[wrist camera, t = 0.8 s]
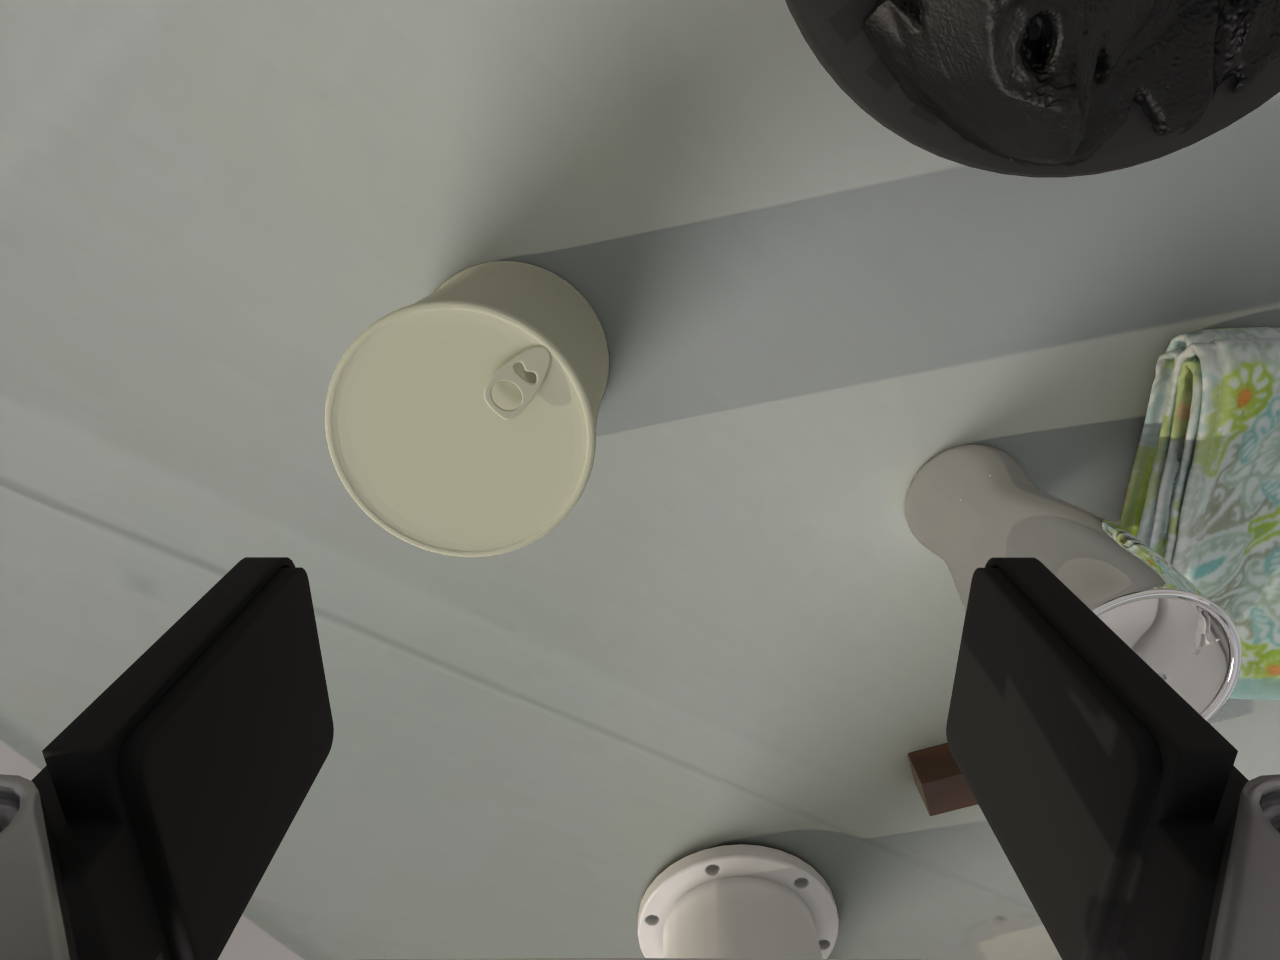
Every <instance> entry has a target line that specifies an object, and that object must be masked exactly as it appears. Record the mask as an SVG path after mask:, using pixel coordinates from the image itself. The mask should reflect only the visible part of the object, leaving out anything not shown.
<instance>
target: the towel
mask: <svg viewBox="0 0 1280 960" xmlns="http://www.w3.org/2000/svg"><path fill="white" fill-rule="evenodd" d="M1155 368H1156V375H1155V379H1154V382H1153V384H1152V388H1151V394H1150V400H1149V404H1148V408H1147V412H1146V418H1145V422H1144V426H1143V430H1142V434H1141V438H1140V442H1139V446H1138V449H1137V453H1136V457H1135V461H1134V464H1133V468H1132V472H1131V477H1130V481H1129V485H1128V488H1127V492H1126V497H1125V501H1124V505H1123V509H1122V514H1121V520H1120V525H1119V526H1120V527H1121V528H1123V529H1124V530H1126V531H1127V532H1129V533H1130V534H1132V535H1133V536H1135V537H1136V538H1138V539H1139V540H1141V541H1142V542H1144V543H1145V544H1147V545H1148V546H1149V547H1150V548H1152V549H1153V550H1154V551H1155V552H1157V553H1158V554H1159V555H1160V556H1162V557H1163V558H1164V559H1165V560H1167V561H1168V562H1169V563H1170V564H1171V565H1173V566H1174V567H1175V568H1176V569H1177V570H1178V571H1179V572H1180V573H1181V574H1183V575H1184V576H1185V577H1186V578H1187V579H1188V580H1189V581H1190V582H1191V583H1192V584H1193V585H1195V586H1196V587H1197V588H1198V589H1199V590H1200V591H1201V592H1202V593H1203V594H1204V595H1205V596H1206V597H1207V598H1208V599H1210V600H1211V601H1212V602H1214V603H1215V604H1217V605H1218V606H1219V607H1220V608H1222V609H1223V610H1224V611H1225V612H1226V613H1227V614H1228V616H1229V617H1230V618H1231V620H1232V621H1233V623H1234V624H1235V626H1236V628H1237V630H1238V633H1239V635H1240V639H1241V644H1242V665H1241V671H1240V674H1239V678H1238V680H1237V683H1236V685H1235V687H1234V689H1233V691H1232V693H1231V695H1230V696H1229V698H1228V699H1253V700H1279V701H1280V328H1271V327H1246V328H1216V329H1205V330H1199V331H1195V332H1192V333H1191V334H1180V335H1177V336H1175V337H1174V338H1173V339H1172V340H1171V342H1170V344H1169V346H1168V348H1167V350H1166V353H1164V354H1162V355H1160V357H1159V358H1158V361H1157V363H1156V366H1155Z"/></svg>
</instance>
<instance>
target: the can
mask: <svg viewBox="0 0 1280 960" xmlns="http://www.w3.org/2000/svg"><path fill="white" fill-rule="evenodd" d="M608 373H609V353H608V346H607V342H606V338H605V334H604V331H603V329H602V326H601V324H600V321H599V319H598V318H597V316H596V314H595V312H594V311H593V309H592V307H591V306H590V305H589V303H588V302H587V301H586V299H585V298H584V297H583V296H582V295H581V294H580V293H579V292H578V291H577V290H576V289H575V288H574V287H573V286H572V285H570V284H569V283H568V282H567V281H565V280H564V279H562V278H561V277H559V276H557V275H556V274H554V273H552V272H550V271H548V270H546V269H543V268H541V267H538V266H535V265H532V264H527V263H523V262H515V261H495V262H488V263H483V264H479V265H476V266H473V267H470V268H467V269H465V270H463V271H461V272H459V273H457V274H456V275H454V276H453V277H451V278H450V279H448V280H447V281H446V282H445V283H443V284H442V285H441V286H440V287H439V288H438V289H437V290H436V291H435V292H434V293H432V294H430V295H429V296H427V297H425V298H423V299H421V300H420V301H418V302H416V303H414V304H412V305H409V306H406V307H403V308H401V309H398V310H396V311H393V312H391V313H389V314H388V315H386V316H384V317H382V318H380V319H379V320H378V321H376V322H375V323H373V324H372V325H371V326H369V327H368V328H367V329H366V330H365V331H363V332H362V333H361V334H360V335H359V336H358V337H357V338H356V339H355V340H354V341H353V343H352V344H351V345H350V346H349V348H348V349H347V350H346V352H345V353H344V355H343V356H342V358H341V360H340V361H339V363H338V365H337V367H336V370H335V372H334V374H333V377H332V380H331V382H330V385H329V390H328V395H327V399H326V408H325V430H326V438H327V443H328V447H329V452H330V455H331V458H332V460H333V463H334V466H335V469H336V471H337V473H338V475H339V477H340V479H341V481H342V483H343V484H344V486H345V488H346V489H347V491H348V492H349V494H350V495H351V496H352V498H353V499H354V500H355V501H356V503H357V504H358V505H359V506H360V507H361V509H362V510H363V511H364V512H365V513H366V514H367V515H368V516H369V517H370V518H371V519H373V520H374V521H375V522H376V523H378V524H379V525H380V526H381V527H383V528H384V529H385V530H387V531H388V532H390V533H391V534H393V535H395V536H396V537H398V538H400V539H402V540H404V541H406V542H408V543H410V544H412V545H414V546H417V547H419V548H422V549H425V550H428V551H431V552H435V553H440V554H444V555H450V556H458V557H483V556H492V555H497V554H503V553H507V552H510V551H513V550H516V549H518V548H521V547H524V546H526V545H528V544H530V543H532V542H534V541H536V540H538V539H539V538H541V537H543V536H544V535H545V534H547V533H548V532H550V531H551V530H552V529H553V528H555V527H556V526H557V525H558V524H559V523H560V522H561V521H562V520H563V519H564V518H565V517H566V516H567V515H568V514H569V512H570V511H571V510H572V509H573V507H574V506H575V504H576V503H577V501H578V500H579V498H580V496H581V495H582V493H583V491H584V489H585V486H586V484H587V482H588V479H589V477H590V474H591V470H592V467H593V461H594V456H595V448H596V422H597V415H598V409H599V404H600V402H601V400H602V398H603V395H604V392H605V388H606V385H607V380H608Z"/></svg>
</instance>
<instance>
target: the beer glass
mask: <svg viewBox="0 0 1280 960" xmlns="http://www.w3.org/2000/svg"><path fill="white" fill-rule="evenodd" d="M905 514H906V519H907V523H908V526H909V528H910V530H911V532H912V534H913V535H914V537H915V538H916V539H917V540H918V541H919V542H920V543H921V544H922V545H923V546H924V547H925V548H927V549H928V550H929V551H931V552H932V553H934V554H935V555H937V556H938V557H940V558H941V559H942V560H943V561H944V562H945V563H946V564H947V566H948V568H949V570H950V573H951V575H952V578H953V580H954V583H955V586H956V589H957V591H958V594H959V596H960V599H961V601H962V604H963V606H964V609H965V611H966V610H967V604H968V598H969V592H970V586H971V580H972V576H973V573H974V571H975V570H976V569H977V568H985V565H986V564H987V562H988V560H989V559H991V558H1036V559H1038V560H1039V561H1040V562H1041V563H1043V564H1044V565H1045V566H1046V567H1047V568H1048V569H1049V570H1050V571H1051V572H1052V573H1053V574H1054V575H1055V576H1056V577H1057V578H1058V579H1059V580H1060V581H1061V582H1062V583H1063V584H1064V585H1065V586H1066V587H1068V588H1069V589H1070V590H1071V591H1072V592H1073V593H1074V594H1075V595H1076V596H1077V597H1078V598H1079V599H1080V600H1081V601H1082V602H1083V603H1084V604H1085V605H1086V606H1087V607H1088V608H1089V609H1090V610H1091V611H1093V612H1094V613H1095V614H1096V615H1097V616H1098V617H1099V618H1100V619H1101V620H1102V621H1103V622H1104V623H1105V624H1106V625H1107V626H1108V627H1109V628H1110V629H1111V630H1112V631H1113V632H1114V633H1115V634H1116V635H1118V636H1119V637H1120V638H1121V639H1122V640H1123V641H1124V642H1125V643H1126V644H1127V645H1128V646H1129V647H1130V648H1131V649H1132V650H1133V651H1134V652H1135V653H1136V654H1137V655H1138V656H1139V657H1140V658H1141V659H1143V660H1144V661H1145V662H1146V663H1147V664H1148V665H1149V666H1150V667H1151V668H1152V669H1153V670H1154V671H1155V672H1156V673H1157V674H1158V675H1159V676H1160V677H1161V678H1162V679H1163V680H1164V681H1165V682H1166V683H1168V684H1169V685H1170V686H1171V687H1172V688H1173V689H1174V690H1175V691H1176V692H1177V693H1178V694H1179V695H1180V696H1181V697H1182V698H1183V699H1184V700H1185V701H1186V702H1187V703H1188V704H1189V705H1190V706H1191V707H1193V708H1194V709H1195V710H1196V711H1197V712H1198V713H1199V714H1200V715H1201V716H1202V717H1203V718H1204V719H1205V720H1206V721H1207V722H1208V721H1209V720H1210V719H1211V718H1212V717H1213V716H1215V714H1216V713H1217V712H1218V711H1219V710H1220V709H1221V708H1222V706H1223V705H1224V704H1225V702H1226V701H1227V700H1228V698H1229V696H1230V695H1231V693H1232V691H1233V689H1234V687H1235V685H1236V683H1237V680H1238V678H1239V674H1240V671H1241V665H1242V644H1241V639H1240V635H1239V633H1238V630H1237V628H1236V626H1235V624H1234V623H1233V621H1232V620H1231V618H1230V617H1229V616H1228V614H1227V613H1226V612H1225V611H1224V610H1223V609H1222V608H1220V607H1219V606H1218V605H1217V604H1215V603H1214V602H1212V601H1211V600H1210V599H1208V598H1207V597H1206V596H1205V595H1204V594H1203V593H1202V592H1201V591H1200V590H1199V589H1198V588H1197V587H1196V586H1195V585H1193V584H1192V583H1191V582H1190V581H1189V580H1188V579H1187V578H1186V577H1185V576H1184V575H1183V574H1181V573H1180V572H1179V571H1178V570H1177V569H1176V568H1175V567H1174V566H1173V565H1171V564H1170V563H1169V562H1168V561H1167V560H1165V559H1164V558H1163V557H1162V556H1160V555H1159V554H1158V553H1157V552H1155V551H1154V550H1153V549H1152V548H1150V547H1149V546H1148V545H1147V544H1145V543H1144V542H1142V541H1141V540H1139V539H1138V538H1136V537H1135V536H1133V535H1132V534H1130V533H1129V532H1127V531H1126V530H1124V529H1123V528H1121V527H1120V526H1118V525H1117V524H1115V523H1113V522H1111V521H1109V520H1107V519H1105V518H1103V517H1101V516H1099V515H1097V514H1095V513H1093V512H1091V511H1089V510H1086V509H1084V508H1081V507H1079V506H1077V505H1074V504H1072V503H1069V502H1067V501H1064V500H1062V499H1059V498H1057V497H1054V496H1052V495H1049V494H1047V493H1045V492H1043V491H1040V490H1039V489H1037V488H1036V487H1035V486H1034V485H1033V484H1032V483H1031V481H1030V480H1029V478H1028V477H1027V475H1026V474H1025V472H1024V471H1023V469H1022V468H1021V467H1020V465H1019V464H1018V463H1017V462H1016V461H1015V460H1014V459H1013V458H1012V457H1011V456H1009V455H1008V454H1007V453H1005V452H1003V451H1001V450H999V449H997V448H994V447H990V446H986V445H976V444H972V445H963V446H958V447H954V448H951V449H949V450H946V451H944V452H942V453H940V454H938V455H937V456H935V457H934V458H932V459H931V460H930V461H928V462H927V463H926V464H925V465H924V466H923V467H922V468H921V469H920V470H919V472H918V473H917V474H916V476H915V477H914V479H913V481H912V483H911V485H910V487H909V489H908V492H907V496H906V501H905Z"/></svg>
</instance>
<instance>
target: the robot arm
mask: <svg viewBox="0 0 1280 960" xmlns="http://www.w3.org/2000/svg"><path fill="white" fill-rule="evenodd" d="M333 731H334V729H333V720H332V715H331V709H330V703H329V697H328V691H327V685H326V680H325V674H324V668H323V662H322V656H321V650H320V645H319V639H318V633H317V627H316V621H315V615H314V610H313V604H312V598H311V592H310V586H309V580H308V576H307V573H306V571H305V570H304V569H303V568H295V565H294V564H293V562H292V560H291V559H289V558H244V559H242V560H241V561H240V562H239V563H237V564H236V565H235V566H234V567H233V568H232V569H231V570H230V571H229V572H228V573H227V574H226V575H225V576H224V577H223V578H222V579H221V580H220V581H219V582H218V583H217V584H216V585H215V586H214V587H212V588H211V589H210V590H209V591H208V592H207V593H206V594H205V595H204V596H203V597H202V598H201V599H200V600H199V601H198V602H197V603H196V604H195V605H194V606H193V607H192V608H191V609H190V610H189V611H187V612H186V613H185V614H184V615H183V616H182V617H181V618H180V619H179V620H178V621H177V622H176V623H175V624H174V625H173V626H172V627H171V628H170V629H169V630H168V631H167V632H166V633H165V634H164V635H162V636H161V637H160V638H159V639H158V640H157V641H156V642H155V643H154V644H153V645H152V646H151V647H150V648H149V649H148V650H147V651H146V652H145V653H144V654H143V655H142V656H141V657H140V658H139V659H137V660H136V661H135V662H134V663H133V664H132V665H131V666H130V667H129V668H128V669H127V670H126V671H125V672H124V673H123V674H122V675H121V676H120V677H119V678H118V679H117V680H116V681H115V682H114V683H112V684H111V685H110V686H109V687H108V688H107V689H106V690H105V691H104V692H103V693H102V694H101V695H100V696H99V697H98V698H97V699H96V700H95V701H94V702H93V703H92V704H91V705H90V706H89V707H87V708H86V709H85V710H84V711H83V712H82V713H81V714H80V715H79V716H78V717H77V718H76V719H75V720H74V721H73V722H72V723H71V724H70V725H69V726H68V727H67V728H66V729H65V730H64V731H63V732H61V733H60V734H59V735H58V736H57V737H56V738H55V739H54V740H53V741H52V742H51V743H50V744H49V745H48V746H47V747H46V748H45V749H44V750H43V751H42V752H43V755H44V758H45V761H46V764H47V766H46V767H45V768H44V769H43V770H42V771H41V772H40V773H39V774H38V775H37V776H36V777H35V778H34V779H33V780H32V781H30V780H28V779H25V778H23V777H21V776H15V775H0V960H218V958H219V956H220V954H221V952H222V950H223V948H224V947H225V945H226V943H227V941H228V939H229V938H230V936H231V934H232V932H233V930H234V928H235V926H236V925H237V923H238V921H239V919H240V917H241V915H242V913H243V912H244V910H245V908H246V906H247V904H248V902H249V900H250V899H251V897H252V895H253V893H254V891H255V889H256V887H257V886H258V884H259V882H260V880H261V878H262V876H263V875H264V873H265V871H266V869H267V867H268V865H269V863H270V862H271V860H272V858H273V856H274V854H275V852H276V850H277V849H278V847H279V845H280V843H281V841H282V839H283V837H284V836H285V834H286V832H287V830H288V828H289V826H290V825H291V823H292V821H293V819H294V817H295V815H296V813H297V812H298V810H299V808H300V806H301V804H302V802H303V800H304V799H305V797H306V795H307V793H308V791H309V789H310V787H311V786H312V784H313V782H314V780H315V778H316V776H317V774H318V773H319V771H320V769H321V767H322V765H323V763H324V762H325V760H326V758H327V756H328V754H329V752H330V749H331V746H332V741H333ZM946 731H947V741H948V746H949V749H950V752H951V754H952V756H953V758H954V760H955V762H956V763H957V765H958V767H959V769H960V771H961V773H962V774H963V776H964V778H965V780H966V782H967V784H968V786H969V787H970V789H971V791H972V793H973V795H974V797H975V799H976V800H977V802H978V804H979V806H980V808H981V810H982V812H983V813H984V815H985V817H986V819H987V821H988V823H989V825H990V826H991V828H992V830H993V832H994V834H995V836H996V837H997V839H998V841H999V843H1000V845H1001V847H1002V849H1003V850H1004V852H1005V854H1006V856H1007V858H1008V860H1009V862H1010V863H1011V865H1012V867H1013V869H1014V871H1015V873H1016V875H1017V876H1018V878H1019V880H1020V882H1021V884H1022V886H1023V887H1024V889H1025V891H1026V893H1027V895H1028V897H1029V899H1030V900H1031V902H1032V904H1033V906H1034V908H1035V910H1036V912H1037V913H1038V915H1039V917H1040V919H1041V921H1042V923H1043V925H1044V926H1045V928H1046V930H1047V932H1048V934H1049V936H1050V938H1051V939H1052V941H1053V943H1054V945H1055V947H1056V949H1057V950H1058V952H1059V954H1060V956H1061V958H1062V960H1280V775H1265V776H1259V777H1257V778H1255V779H1252V780H1250V781H1248V780H1247V779H1246V778H1245V777H1244V776H1243V775H1242V774H1241V773H1240V772H1239V771H1238V770H1237V769H1236V768H1235V767H1234V766H1233V764H1234V761H1235V758H1236V755H1237V752H1238V751H1237V750H1236V749H1235V748H1234V747H1233V746H1232V745H1231V744H1230V743H1229V742H1228V741H1227V740H1226V739H1225V738H1224V737H1223V736H1222V735H1221V734H1220V733H1219V732H1217V731H1216V730H1215V729H1214V728H1213V727H1212V726H1211V725H1210V724H1209V723H1208V722H1207V721H1206V720H1205V719H1204V718H1203V717H1202V716H1201V715H1200V714H1199V713H1198V712H1197V711H1196V710H1195V709H1194V708H1193V707H1191V706H1190V705H1189V704H1188V703H1187V702H1186V701H1185V700H1184V699H1183V698H1182V697H1181V696H1180V695H1179V694H1178V693H1177V692H1176V691H1175V690H1174V689H1173V688H1172V687H1171V686H1170V685H1169V684H1168V683H1166V682H1165V681H1164V680H1163V679H1162V678H1161V677H1160V676H1159V675H1158V674H1157V673H1156V672H1155V671H1154V670H1153V669H1152V668H1151V667H1150V666H1149V665H1148V664H1147V663H1146V662H1145V661H1144V660H1143V659H1141V658H1140V657H1139V656H1138V655H1137V654H1136V653H1135V652H1134V651H1133V650H1132V649H1131V648H1130V647H1129V646H1128V645H1127V644H1126V643H1125V642H1124V641H1123V640H1122V639H1121V638H1120V637H1119V636H1118V635H1116V634H1115V633H1114V632H1113V631H1112V630H1111V629H1110V628H1109V627H1108V626H1107V625H1106V624H1105V623H1104V622H1103V621H1102V620H1101V619H1100V618H1099V617H1098V616H1097V615H1096V614H1095V613H1094V612H1093V611H1091V610H1090V609H1089V608H1088V607H1087V606H1086V605H1085V604H1084V603H1083V602H1082V601H1081V600H1080V599H1079V598H1078V597H1077V596H1076V595H1075V594H1074V593H1073V592H1072V591H1071V590H1070V589H1069V588H1068V587H1066V586H1065V585H1064V584H1063V583H1062V582H1061V581H1060V580H1059V579H1058V578H1057V577H1056V576H1055V575H1054V574H1053V573H1052V572H1051V571H1050V570H1049V569H1048V568H1047V567H1046V566H1045V565H1044V564H1043V563H1041V562H1040V561H1039V560H1038V559H1036V558H991V559H989V560H988V562H987V564H986V565H985V568H977V569H976V570H975V571H974V573H973V576H972V580H971V586H970V592H969V598H968V604H967V610H966V615H965V621H964V627H963V633H962V639H961V645H960V650H959V656H958V662H957V668H956V674H955V680H954V685H953V691H952V697H951V703H950V709H949V715H948V720H947V729H946ZM838 929H839V918H838V913H837V908H836V904H835V901H834V898H833V895H832V892H831V889H830V888H829V886H828V885H827V883H826V882H825V880H824V879H823V877H822V876H821V875H820V874H819V873H818V872H817V871H816V870H815V869H814V868H813V867H811V866H810V865H809V864H807V863H805V862H804V861H802V860H801V859H799V858H798V857H796V856H793V855H791V854H788V853H786V852H783V851H781V850H777V849H773V848H769V847H764V846H758V845H745V844H738V845H724V846H718V847H714V848H709V849H704V850H701V851H699V852H696V853H694V854H691V855H688V856H686V857H684V858H682V859H680V860H679V861H677V862H675V863H674V864H672V865H670V866H669V867H668V868H666V869H665V870H664V871H663V872H662V873H661V874H659V875H658V876H657V877H656V878H655V880H654V881H653V882H652V883H651V885H650V886H649V887H648V888H647V890H646V892H645V894H644V897H643V899H642V901H641V903H640V908H639V913H638V937H639V943H640V948H641V950H642V952H643V954H644V956H645V958H545V959H361V960H919V959H827V958H828V957H829V955H830V953H831V952H832V950H833V948H834V946H835V943H836V940H837V937H838Z"/></svg>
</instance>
